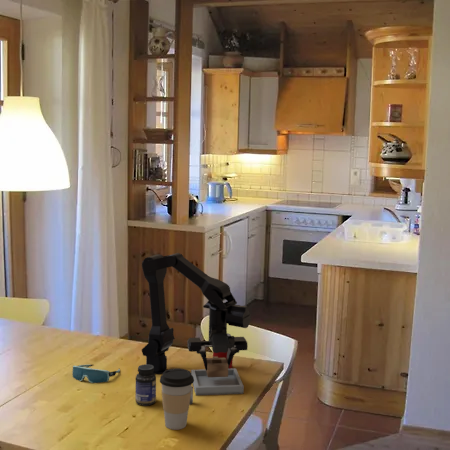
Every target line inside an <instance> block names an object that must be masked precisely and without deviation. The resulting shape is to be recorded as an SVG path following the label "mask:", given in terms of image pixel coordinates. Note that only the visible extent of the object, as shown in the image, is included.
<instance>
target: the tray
mask: <svg viewBox="0 0 450 450" xmlns="http://www.w3.org/2000/svg"><path fill="white" fill-rule="evenodd" d="M190 372H191V375H192V376H193V377H194V382H193V383H192V387H193V391H194V393H195V396H210V395H211V396H215V395H216V396H219V395H242V394H244V393H245V391H244V384H243V381H242V380H241V377H240V375H239V372H238V370H237V368H231V369H228V377H208V376H207V373H206V369H205V368H204V369H190Z"/></svg>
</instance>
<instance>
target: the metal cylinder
mask: <svg viewBox="0 0 450 450" xmlns="http://www.w3.org/2000/svg"><path fill="white" fill-rule="evenodd" d="M193 401H194V386H193V385H191V396H190V404H189V406H191V405H193V404H194V402H193Z"/></svg>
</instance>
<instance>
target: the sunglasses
mask: <svg viewBox="0 0 450 450" xmlns="http://www.w3.org/2000/svg"><path fill="white" fill-rule="evenodd" d="M89 366H90V367H89ZM92 366H93V364H79V365H73V366H72V377H73V379H75V380H76V381H78V382H83V381H84V380H85V378H86V379H87V380H88V382H89V383H91V384H96V383H97V384H100V383H107V382H109V380H110V377H111V378H112V377H114V376H116V375H117V374H118V373H120V371H121V370H120V368H119V367H118V369H117V370H114V371H110V370H106V369H98V368H97V369H96V368H91V367H92Z"/></svg>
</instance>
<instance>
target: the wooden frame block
mask: <svg viewBox="0 0 450 450" xmlns="http://www.w3.org/2000/svg"><path fill="white" fill-rule="evenodd" d="M206 358H207V370H206V373H207V376H208V377H228V363H227V360H226V358H218V356H217V357H213V356H212V357H206Z"/></svg>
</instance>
